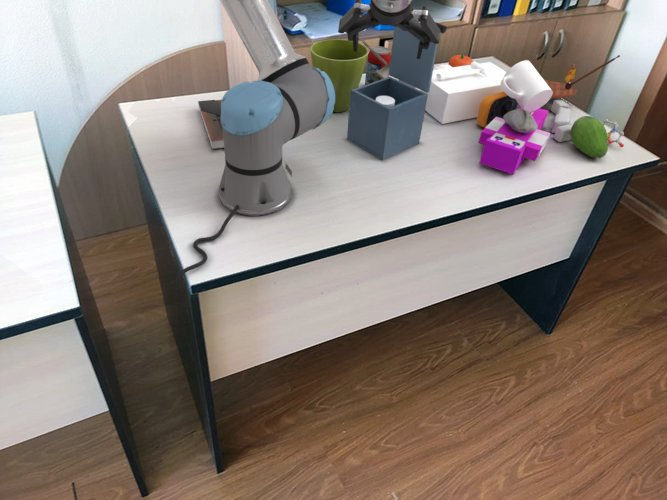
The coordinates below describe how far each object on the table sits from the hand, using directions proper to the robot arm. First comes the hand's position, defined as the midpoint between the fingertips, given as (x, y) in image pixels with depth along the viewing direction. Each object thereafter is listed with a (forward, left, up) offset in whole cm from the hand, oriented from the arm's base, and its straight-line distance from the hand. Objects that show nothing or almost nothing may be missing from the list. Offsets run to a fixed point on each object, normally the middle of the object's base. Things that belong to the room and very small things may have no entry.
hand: (387, 49), depth 114 cm
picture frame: (-5, +36, -26) cm, 45 cm away
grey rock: (+18, -30, -19) cm, 40 cm away
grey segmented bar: (+40, -37, -24) cm, 59 cm away
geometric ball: (+49, -3, -20) cm, 53 cm away
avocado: (+33, -43, -19) cm, 58 cm away
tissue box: (+38, -13, -26) cm, 48 cm away
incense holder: (+57, -36, -23) cm, 71 cm away
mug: (+28, -31, -16) cm, 45 cm away
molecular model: (+40, -56, -23) cm, 73 cm away
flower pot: (+18, +19, -26) cm, 37 cm away
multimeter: (+35, -22, -21) cm, 47 cm away
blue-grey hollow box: (+7, 0, -26) cm, 27 cm away
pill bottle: (+5, +1, -25) cm, 26 cm away
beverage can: (+35, +13, -26) cm, 45 cm away
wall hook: (+38, +4, -28) cm, 48 cm away
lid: (+13, -2, -5) cm, 14 cm away
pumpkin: (+58, -6, -26) cm, 64 cm away
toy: (+37, -32, -24) cm, 54 cm away
